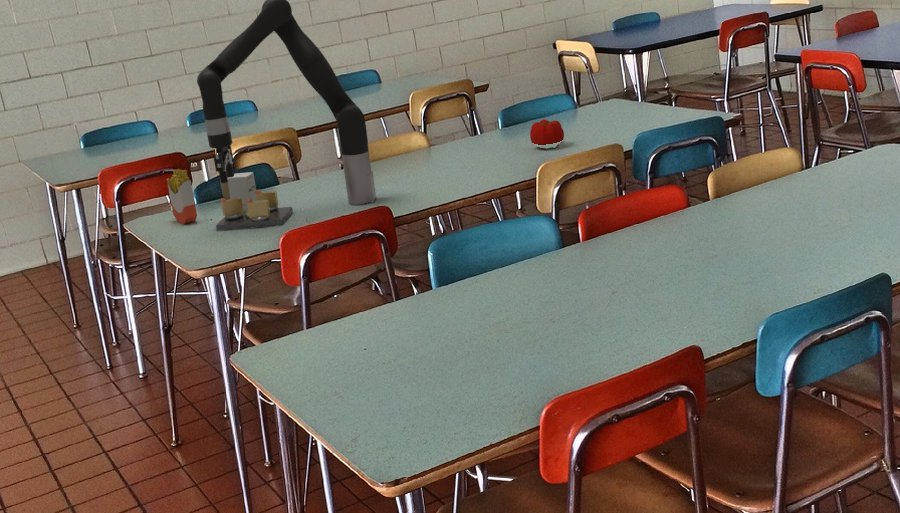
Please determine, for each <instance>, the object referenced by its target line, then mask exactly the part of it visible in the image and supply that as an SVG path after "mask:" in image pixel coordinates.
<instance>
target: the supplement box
mask: <svg viewBox="0 0 900 513" xmlns="http://www.w3.org/2000/svg"><path fill="white" fill-rule="evenodd" d="M227 179H228V187H229V193H230V199H233V198H238V197H240V198H241V199H242V205H243V210H244V211H248V207H247V200H248V199H252V201H257V196H256V191H257V186H256V181H255V175H254V172H253V171H252V172H251V171H249V172H240V173H239V172H237V173H234V176H233V177H229V178H227Z"/></svg>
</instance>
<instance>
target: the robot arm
mask: <svg viewBox="0 0 900 513" xmlns="http://www.w3.org/2000/svg"><path fill="white" fill-rule="evenodd" d="M273 32H274V33H275V34H276V35H277V36H278V37H279V39H280V40H281V42H283V44H284V46H285V47H286V49H287V51H288V53H289V55H290V57H291V58H292V60H293V62H294V63H295V64H296V66H297V68H298V70H299V71H300V73H301V74H302V75H303V77H304V78H305V80H306V81H307V82H308V84H309V85H310V86H311V87H312V88H313V90H315V92H317V93H318V95H319V96H320V97H321V98H322V99H323V100H324V102H325V104H326V105H327V106H328V108H329V110H330V111H331V113H332V115H333V117H334V120H335V122H336V123H337V129H338V137H339V144H340V146H339V147H340V152H341V159H342V160H341V161H342V166H343V173H344V181H345V188H346V193H347V199H348V200H347V201H348V204H350V205H354V206H356V205H357V206H358V205H366V204H365V203H367V204H369V203H368V202H371V203H373V202H372V201H374V200H375V201H376V199H377V194H376V192H377V191H376V185H375V178H374V172H373V170H372V165H371V158H370V152H369V139H368V131H367V126H366V118H365V114H364V112H363V111H362V110H361V108H360V107H359V106H357V104H356V103H355V102H354V101H353V99H351V97H350V96H349V95H348V94H347V92H346V91H345V90H344V88H343V86H342V85H341V83H340V81H339V79H338V77H337V75H336V73H335V71H334V69H333V68H332V66H331V64H330V63H329V62H328V60H327V58H326V57H325V55H324V54H323V53H322V51H321V50H320V48H319V47H318V46H317V45H316V44H315V43H314V42H313V40H311V38H310V37H309V36H308V35H307V34H306V33H305V32H304V31H303V29H302V28H301V27H300V25H299V23H298V22H297V20H296V19H295V17H294V15H293V10H292V6H291V4H290V2H289V0H265V1H264V2H263V4H262V7H261V11H260V12H259V14H258V15H257V16H256V18H255V19H254V20H253V22H252V23H251V24H250V25H249V26H248V27H247V28H246V29H245V30H243V32H241V33H240V34H239V35H238V36H236V37H235V38H234V39H233V40H232V41H231V42H230V43H229V44H228V45H227V46H226V47H225V48H224V49H223V50H222V51H221V52H220V53H219V54H218V55H217V56H216V58H215V59H214V60H213V61H211V62H210V63H209V64H208V65H207V66H206V67H205V68H203V69H202V70H201V71H200V72H199V74H198V75H197V79H196V83H197V86H198V88H199V92H200V96H201V99H202V112H203V115H204V122H205V123H204V124H205V131H206V136H207V139H208V140H207V142H208V147H209V148H210V149H215V153H213V154H212V156H213V162H214V167H215V172H218V174H219V181H221V183H227V182H228V179H227V177H233V176H234V174H235V173H234V168H233V166H234V165H233V164H234V162H235V159H234V155H233V154H234V153H233V150H232V145H233V138H232V132H231V128H230V123H229V119H228V117H227V116H228V115H227V110H226V107H225V103H224V99H223V87H222V83H223V81H224V80H225V79H226V78H227V77H228V76H229V75H231V74H233V73H234V72H235V71H237V69H238V68H239V67H240V66H241V65H242V64H243V63H244V62H245V61H246V60H247V59H248V58H249V57H250V56H251V54H252V53H253V52H254V51H255V50H256V49H257V47H258V46H260V44H261V43H262V42H263V41H264V40H265V39H266V38H267V37H269V36H270V35H271V34H272V33H273ZM220 166H221V167H220ZM226 172H227V174H226ZM375 198H376V199H375ZM375 201H374V202H375Z"/></svg>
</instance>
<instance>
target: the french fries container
mask: <svg viewBox="0 0 900 513" xmlns="http://www.w3.org/2000/svg"><path fill="white" fill-rule="evenodd" d="M172 172H173V174H171V177H170V178H167V179H166V181H167V187H168V193H169V199H170V205H171V209H172V215H173V216H174V218H175V219H176V221H177V223H180V224H183V225H186V224H188V223H193V222H194V223H195V222H196V219H197V216H198V213H197V209H196V203H195V198H194V197H195V196H194V191H193V187H192V186H193V185H192V181H191V179H190V177H188V170H187V169H184V170H183V169H180V168H177V169H172Z"/></svg>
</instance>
